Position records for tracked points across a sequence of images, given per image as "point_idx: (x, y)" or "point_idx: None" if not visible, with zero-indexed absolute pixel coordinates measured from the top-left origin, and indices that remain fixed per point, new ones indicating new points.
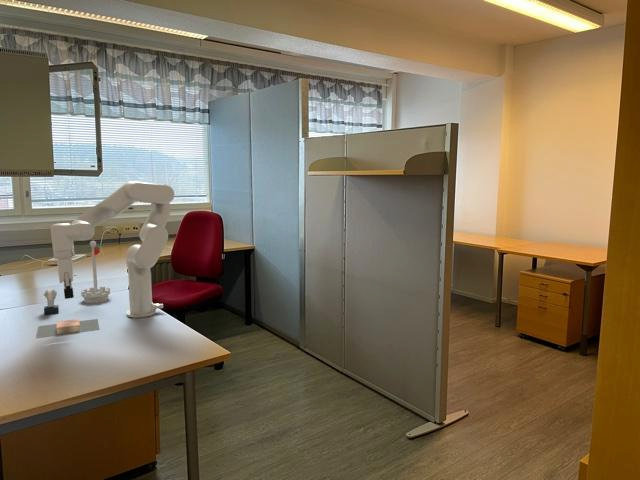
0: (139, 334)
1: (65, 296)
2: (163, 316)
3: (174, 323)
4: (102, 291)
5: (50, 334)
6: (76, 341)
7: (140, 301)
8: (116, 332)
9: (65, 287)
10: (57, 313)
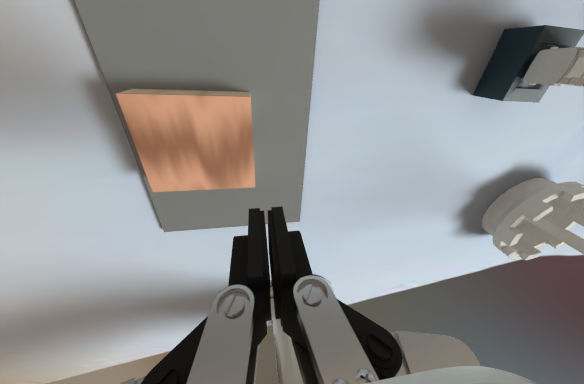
0: (106, 305)
1: (248, 223)
2: None
3: None
4: (544, 232)
5: (132, 54)
6: (28, 167)
7: (275, 344)
8: (137, 265)
9: (209, 327)
10: (476, 91)
